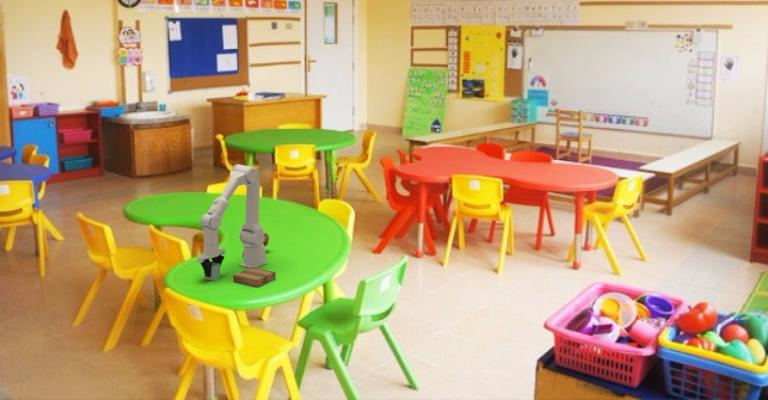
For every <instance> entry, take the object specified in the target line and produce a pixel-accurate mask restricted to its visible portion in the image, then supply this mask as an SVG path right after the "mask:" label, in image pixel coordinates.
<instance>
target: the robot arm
mask: <svg viewBox="0 0 768 400" xmlns="http://www.w3.org/2000/svg"><path fill="white" fill-rule="evenodd" d="M229 176H230V177H229V179H228V181H227V183H226V185H225V187H224V188H223V191H222V193H221V195H220V196H218V197H216V198H215V199H214V200H213V203H212V204H211V205H210V208H209V209H208V211H207V212H206V213H205V214H202V216H201V218H200V220H199V223H200V227H202V231H203V249H204V251H203V252H202V254H201V255H200V256H198V257H197V263H199V264H200V265H201V267H202V269H203V273H204V272H205V276H206V277H211V267H212V263H213V262H215V263H219V264H220V268H221V266H222V264H223V262H224V260H225V256H224V255H226V249H225V248H220V245H219V228H220V226H221V225H222V219H223V215H224V214H225V212H226V210H227V208H228V207H229V200H230V199H231V197H232V196H233V195H234V193H235V192H236V191H237V189H238V187H240V186H243V185H244V186H246V194H245V195H246V196H245V197H246V199H245V221H244V223H243V224H242V225H241V227H240V233H239V236H238V238H239V241H240V242H242V245H243V250H244V257H243V262H242V263H240V264H239V266H240V267H244V268H247V269H248V268H251V267H255V268H260V267H261V266H264V265H266V264H268V261H267V260H266V258H267V257H266V256H267V253H266V246H264V244H263V242H264V233H265V232H264V228H263V226H261V224H260V222H259V220H260V219H259V218H260V215H259V214H260V195H261V194H260V193H261V192H260V191H261V190H260V189H261V181H260V171H259V169H257V168H256V167H254V166H249V165H245V164H244V165H243V164H240V163H236V164H235V165H234V166H233V167H232V169H231V171H230V173H229Z"/></svg>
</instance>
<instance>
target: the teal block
mask: <svg viewBox="0 0 768 400" xmlns="http://www.w3.org/2000/svg"><path fill="white" fill-rule="evenodd" d="M203 274H204V277H203V278H204V280H207V281H208V280H209V281H211V282H212V281H213V282H214V281H216V280H218V279H221V267H220V264H219V263H215V262H213V263H212V267H211V277H206V276H205V272H204V271H203Z"/></svg>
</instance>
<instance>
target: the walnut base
mask: <svg viewBox="0 0 768 400" xmlns="http://www.w3.org/2000/svg"><path fill="white" fill-rule="evenodd" d="M275 280H276V271H272V270H267V269H263V268H260V267H257V268H255V267H251V268H248V267H247V268H246V269H243V270H241V271H239V272H237V273H234V274H233V275H232V282H233V283H236V284H241V285H243V286H244V285H245V286H248V287H252V288H260V287H261V286H264V285H266V284H268V283H270V282H273V281H275Z"/></svg>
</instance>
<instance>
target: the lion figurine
mask: <svg viewBox="0 0 768 400" xmlns="http://www.w3.org/2000/svg"><path fill="white" fill-rule="evenodd" d="M263 233H264V242H263V244H264V246H265V247H267V246H268V244H269V241H270V235H269V234H268V232H263ZM242 258H244V249H243V251H242Z"/></svg>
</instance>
